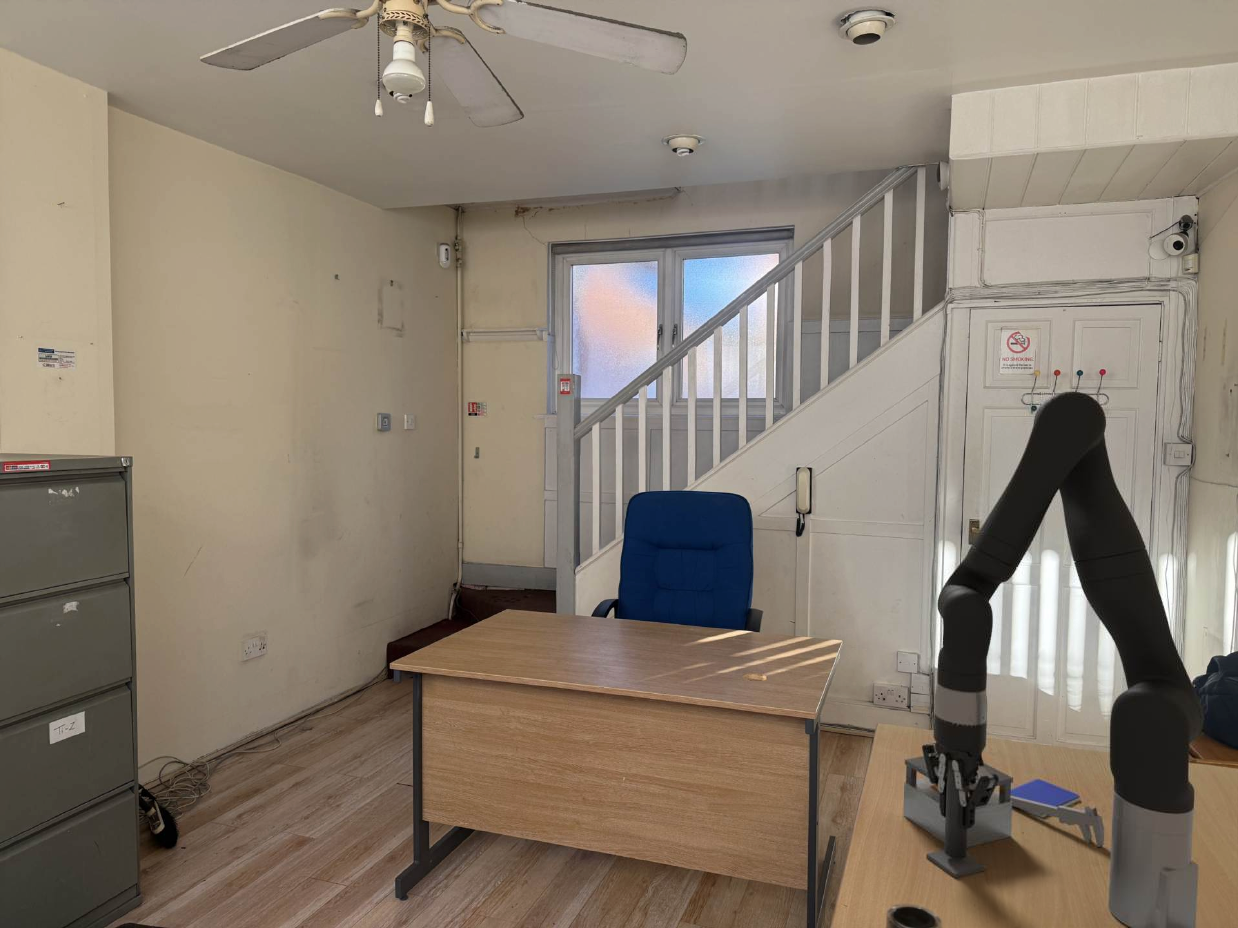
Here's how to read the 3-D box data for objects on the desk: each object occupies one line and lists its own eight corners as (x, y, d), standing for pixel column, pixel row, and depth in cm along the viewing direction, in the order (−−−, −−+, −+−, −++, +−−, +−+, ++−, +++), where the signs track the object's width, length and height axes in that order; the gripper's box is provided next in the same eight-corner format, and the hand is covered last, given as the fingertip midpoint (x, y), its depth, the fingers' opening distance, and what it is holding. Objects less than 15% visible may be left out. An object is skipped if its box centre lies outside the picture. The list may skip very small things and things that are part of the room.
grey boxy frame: (1010, 836, 131) (1013, 777, 131) (955, 849, 127) (957, 789, 126) (956, 803, 143) (957, 749, 142) (903, 815, 138) (904, 759, 138)
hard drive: (1042, 811, 138) (1080, 794, 144) (998, 792, 145) (1036, 777, 151) (1041, 820, 138) (1079, 803, 144) (998, 801, 145) (1036, 785, 151)
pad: (985, 869, 121) (985, 866, 121) (955, 877, 119) (955, 874, 119) (955, 849, 127) (955, 846, 127) (926, 857, 125) (926, 853, 125)
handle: (971, 856, 122) (974, 762, 121) (955, 860, 121) (958, 765, 120) (955, 845, 125) (958, 754, 124) (939, 849, 124) (942, 757, 123)
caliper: (1103, 848, 128) (1105, 810, 128) (1100, 849, 128) (1101, 812, 128) (989, 796, 146) (990, 763, 146) (986, 797, 145) (987, 764, 145)
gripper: (1016, 727, 117) (1011, 839, 118) (945, 695, 130) (941, 797, 131) (977, 733, 114) (973, 849, 115) (909, 700, 127) (905, 804, 128)
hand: (956, 820), depth 123 cm, fingers closed on handle, 3 cm apart
